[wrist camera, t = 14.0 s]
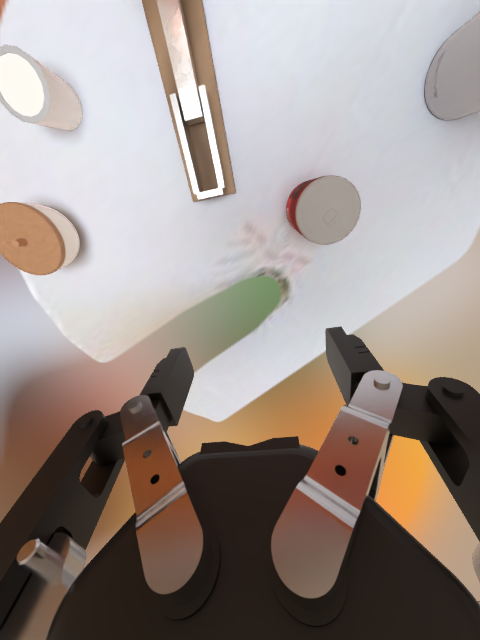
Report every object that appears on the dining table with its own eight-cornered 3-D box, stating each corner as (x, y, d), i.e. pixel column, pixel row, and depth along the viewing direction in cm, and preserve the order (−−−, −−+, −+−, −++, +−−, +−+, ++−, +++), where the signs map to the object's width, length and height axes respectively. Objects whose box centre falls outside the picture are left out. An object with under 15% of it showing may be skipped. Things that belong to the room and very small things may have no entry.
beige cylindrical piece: (63, 145, 36) (23, 134, 29) (27, 91, 33) (-25, 67, 27) (96, 120, 34) (61, 103, 28) (61, 61, 31) (14, 28, 25)
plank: (183, -103, 25) (181, -114, 24) (235, 192, 37) (235, 192, 37) (123, -78, 25) (119, -88, 25) (194, 201, 38) (193, 201, 37)
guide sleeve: (209, 94, 31) (204, 84, 28) (227, 193, 37) (225, 193, 34) (176, 104, 32) (169, 94, 29) (200, 199, 37) (195, 199, 34)
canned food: (315, 241, 40) (334, 255, 31) (276, 218, 39) (283, 225, 29) (344, 197, 37) (376, 198, 27) (302, 170, 36) (321, 161, 26)
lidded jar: (23, 196, 39) (-38, 197, 31) (85, 205, 40) (41, 208, 31) (40, 259, 45) (-8, 273, 36) (96, 267, 45) (60, 283, 36)
